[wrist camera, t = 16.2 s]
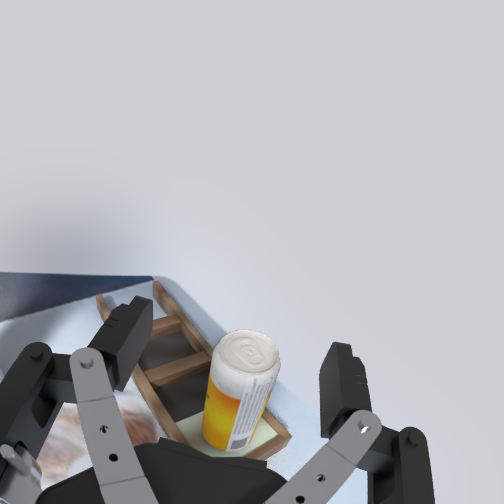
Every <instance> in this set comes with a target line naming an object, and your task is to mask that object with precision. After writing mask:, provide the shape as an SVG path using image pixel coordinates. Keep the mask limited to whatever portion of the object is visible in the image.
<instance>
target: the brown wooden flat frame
mask: <svg viewBox="0 0 504 504" xmlns="http://www.w3.org/2000/svg"><path fill="white" fill-rule="evenodd" d="M153 296H154V297H155V299H156V300H157V302H158V303H159V304H160V306H161V307H162V309H163V310H164V311H165V313H166V314H167V316H166V317H163V318H159V319H156V320H153V329H152V333H151V336H150V339H149V341H148V343H147V345H146V347H145V348H144V350H143V352H142V354H141V356H140V358H139V360H138V362H137V364H136V366H135V368H134V370H133V372H132V374H131V377H132V379H133V380H134V382H135V384H136V386H137V387H138V389H139V391H140V393H141V394H142V396H143V398H144V400H145V401H146V403H147V405H148V406H149V408H150V410H151V411H152V413H153V414H154V416H155V418H156V419H157V421H158V422H159V424H160V426H161V427H162V429H163V430H164V432H165V433H166V435H167V436H168V438H169V439H170V440H172V441H176V442H179V443H183V444H186V445H188V446H190V447H192V448H194V449H196V450H198V451H200V452H202V453H204V454H207V455H209V456H211V457H245V458H251V459H257V460H263V461H264V460H265V459H267V458H269V457H270V456H272V455H273V454H275V453H277V452H278V451H280V450H281V449H283V448H284V447H286V445H287V444H288V442H289V440H290V439H291V437H292V435H291V434H290V433H289V432H288V431H287V430H286V429H285V428H284V427H283V426H282V425H281V424H280V423H279V422H278V421H277V420H276V419H275V418H274V417H273V416H272V415H271V414H270V413H269V412H268V411H267V410H266V408H265V409H264V411H263V413H262V416H261V418H260V421H259V423H258V426H257V428H256V430H255V433H254V435H253V437H252V440H251V441H250V443H249V444H248V445H247V446H246V447H244V448H242V449H240V450H237V451H222V450H219V449H216V448H215V447H213V446H211V445H210V444H209V443H208V442H207V441H206V440H205V438H204V436H203V434H202V420H203V413H204V407H205V400H206V393H207V387H208V380H209V374H210V367H211V361H212V355H213V349H212V348H211V347H210V345H209V344H208V343H207V342H206V341H205V339H204V338H203V337H202V336H201V335H200V333H199V332H198V331H197V330H196V329H195V327H194V326H193V325H192V324H191V322H190V321H189V320H188V319H187V317H186V316H185V315H184V314H183V312H182V311H181V310H180V309H179V307H178V306H177V305H176V303H175V302H174V301H173V300H172V298H171V297H170V296H169V294H168V293H167V292H166V291H165V289H164V288H163V287H162V285H161V284H160V283H159V281H154V282H153ZM96 300H97V308H98V311H99V313H100V315H101V317H102V319H103V322H105V321H106V319H107V318H108V316H109V315H110V314H111V313H110V311H109V309H108V307H107V305H106V303H105V300H104V298H103V296H102V294H97V295H96Z"/></svg>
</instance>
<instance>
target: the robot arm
mask: <svg viewBox="0 0 504 504" xmlns="http://www.w3.org/2000/svg"><path fill="white" fill-rule="evenodd" d="M152 329H153V301H152V300H151V299H147V298H143V297H140V296H135V297H134V298H133V300H132V301H131V303H130V304H129V305H126V304H121V305H120V306H118V307H116V308H115V309H113V311H112V312H111V314H110V315H109V316H108V318H107V319H106V321H105V322H104V325H102V326H101V328H100V329H99V331H98V332H97V333H96V335H95V336H94V338H93V339H92V341H91V342H90V344H89V345H88V346H87V348H81V349H78V350H76V351H75V352H74V353H73V354H72V355H66V354H56V353H52V351H51V348H50V347H49V346H48V345H47V344H45V343H42V342H34V343H31V344H29V345H27V346H26V347H25V348H24V349H23V351H22V352H21V354H20V355H19V357H18V358H17V359H16V361H15V362H14V364H13V365H12V367H11V368H10V370H9V371H8V373H7V374H6V376H4V374H3V372H2V370H1V367H0V503H2V504H326V503H327V502H328V501H329V500H330V499H331V498H332V496H333V495H334V494H335V493H336V492H337V491H338V489H339V488H340V487H341V486H342V485H343V483H344V482H345V481H346V480H347V479H348V477H349V476H350V475H351V474H352V472H353V471H354V470H355V468H359V469H362V470H365V471H367V476H368V504H435V498H434V489H433V481H432V473H431V466H430V459H429V452H428V446H427V440H426V437H425V435H424V434H423V433H422V432H421V431H420V430H419V429H417V428H414V427H406V428H404V429H402V430H401V431H400V432H398V431H395V430H392V429H389V428H387V427H385V426H383V425H382V424H381V421H380V419H379V418H378V417H377V416H376V415H375V414H374V413H372V408H371V401H370V395H369V389H368V385H367V378H366V372H365V367H364V365H363V363H362V362H361V360H360V359H359V357H353V355H352V349H351V345H350V344H345V343H339V342H333V343H332V345H331V347H330V349H329V351H328V353H327V356H326V357H325V359H324V362H323V364H322V366H321V369H320V374H319V384H320V421H321V438H329V441H328V443H327V444H325V445H324V446H323V447H322V448H321V449H320V450H319V451H318V452H317V453H316V454H315V455H314V456H313V457H312V458H311V459H310V460H309V461H308V462H307V463H306V464H305V465H304V466H303V467H302V468H301V469H300V470H299V471H298V472H297V473H296V474H295V475H294V476H293V477H292V478H291V479H290V480H289V481H287V480H286V479H285V478H283V477H282V476H281V475H279V474H278V473H276V472H275V471H273V470H271V469H268V468H266V467H267V461H263V460H257V459H251V458H245V457H211V456H209V455H207V454H204V453H202V452H200V451H198V450H196V449H194V448H192V447H190V446H188V445H186V444H183V443H179V442H176V441H172V440H169V439H165V438H162V437H160V439H159V441H158V443H145V444H139V445H135V446H132V443H131V441H130V438H129V435H128V433H127V430H126V427H125V424H124V422H123V419H122V416H121V413H120V410H119V407H118V404H117V401H116V398H115V396H114V394H113V392H114V390H118V391H121V392H123V390H124V388H125V386H126V384H127V382H128V380H129V378H130V376H131V374H132V372H133V370H134V368H135V366H136V364H137V362H138V360H139V358H140V356H141V354H142V352H143V350H144V348H145V347H146V345H147V343H148V341H149V339H150V336H151V333H152ZM64 402H66V403H75V404H77V409H78V414H79V418H80V422H81V426H82V430H83V434H84V437H85V441H86V444H87V448H88V451H89V455H90V458H91V461H92V464H93V467H91V468H89V469H87V470H85V471H83V472H80V473H78V474H76V475H74V476H72V477H70V478H68V479H66V480H63V481H61V482H59V483H57V484H54V485H52V486H50V487H48V488H46V489H45V490H44V491H43V492H42V490H41V486H40V481H41V476H42V472H41V468H40V466H39V464H38V463H37V462H36V459H37V457H38V455H39V453H40V450H41V448H42V446H43V444H44V442H45V440H46V437H47V435H48V433H49V431H50V429H51V427H52V425H53V423H54V421H55V419H56V417H57V415H58V413H59V411H60V409H61V407H62V405H63V403H64Z"/></svg>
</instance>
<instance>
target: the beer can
mask: <svg viewBox="0 0 504 504" xmlns="http://www.w3.org/2000/svg"><path fill="white" fill-rule="evenodd" d="M279 370H280V358H279V351H278V348H277V346H276V345H275V343H274V342H273V341H272V340H271V339H270V338H268V337H267V336H265V335H263V334H261V333H259V332H255V331H252V330H236V331H232V332H230V333H228V334H226V335H225V336H224V337H223V338H222V339H221V340H220V342H219V343H218V344H217V345H216V346H215V348H214V350H213V355H212V361H211V367H210V374H209V380H208V387H207V393H206V400H205V407H204V413H203V420H202V434H203V436H204V438H205V440H206V441H207V442H208V443H209V444H210V445H211V446H213V447H215V448H216V449H219V450H222V451H237V450H240V449H242V448H244V447H246V446H247V445H248V444H249V443H250V441H251V440H252V437H253V435H254V433H255V430H256V428H257V426H258V423H259V421H260V418H261V416H262V413H263V411H264V409H265V406H266V404H267V401H268V399H269V396H270V394H271V391H272V388H273V386H274V383H275V381H276V378H277V376H278V373H279Z"/></svg>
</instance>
